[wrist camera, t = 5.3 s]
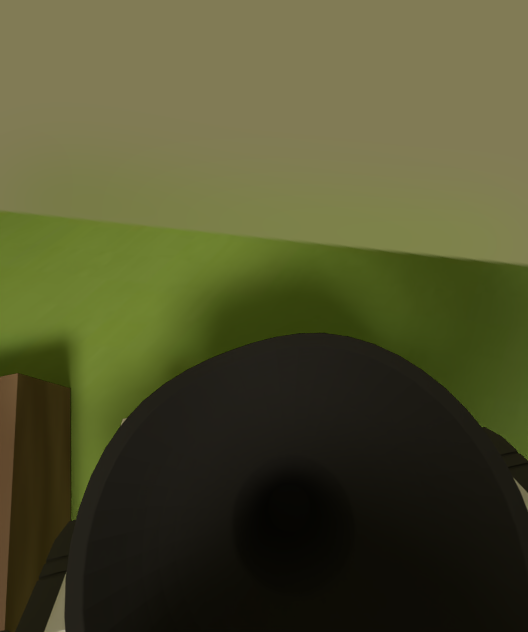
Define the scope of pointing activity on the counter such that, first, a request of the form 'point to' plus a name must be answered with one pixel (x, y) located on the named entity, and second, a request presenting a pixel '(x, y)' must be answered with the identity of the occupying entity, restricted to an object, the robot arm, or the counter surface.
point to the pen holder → (300, 503)
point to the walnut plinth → (31, 484)
